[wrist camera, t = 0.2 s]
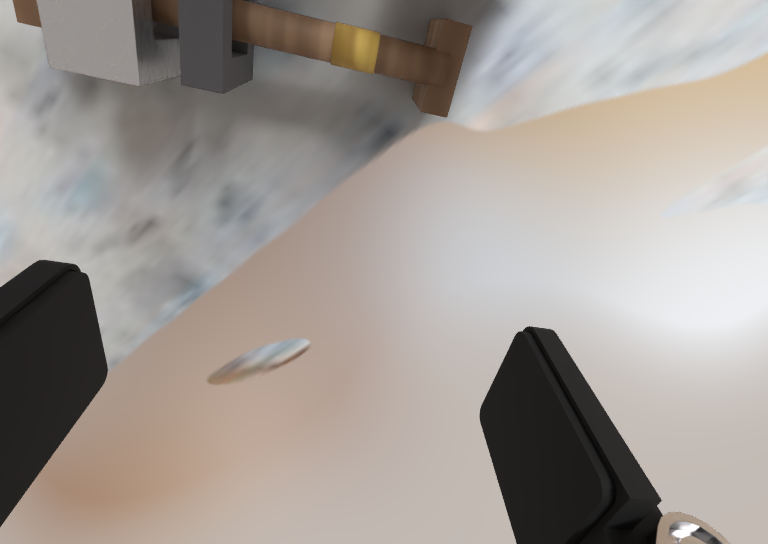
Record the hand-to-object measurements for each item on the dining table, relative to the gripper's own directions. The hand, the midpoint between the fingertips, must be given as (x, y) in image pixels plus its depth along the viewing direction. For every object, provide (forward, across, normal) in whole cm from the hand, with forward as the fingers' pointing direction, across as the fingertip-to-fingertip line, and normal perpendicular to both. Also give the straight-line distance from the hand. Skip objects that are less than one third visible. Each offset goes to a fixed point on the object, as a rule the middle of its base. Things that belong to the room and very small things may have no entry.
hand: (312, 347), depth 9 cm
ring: (+29, +9, -5) cm, 31 cm away
